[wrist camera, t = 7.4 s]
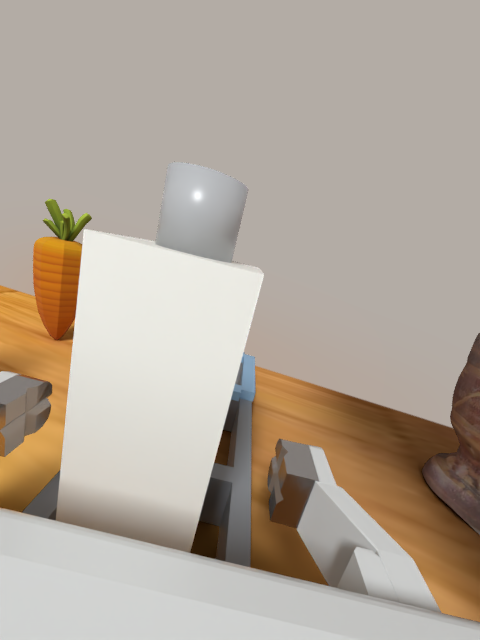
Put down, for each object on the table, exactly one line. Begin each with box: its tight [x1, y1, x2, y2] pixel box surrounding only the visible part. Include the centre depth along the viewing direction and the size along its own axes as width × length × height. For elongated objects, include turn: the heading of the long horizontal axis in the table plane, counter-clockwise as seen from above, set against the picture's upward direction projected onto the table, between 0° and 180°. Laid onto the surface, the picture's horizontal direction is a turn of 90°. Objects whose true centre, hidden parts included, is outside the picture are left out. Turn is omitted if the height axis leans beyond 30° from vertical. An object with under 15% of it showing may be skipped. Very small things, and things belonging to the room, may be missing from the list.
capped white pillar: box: [56, 162, 264, 553], centre depth 9 cm, size 4×4×16 cm
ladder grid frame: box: [22, 352, 255, 567], centre depth 18 cm, size 9×25×4 cm, turn 177°
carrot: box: [33, 199, 92, 340], centre depth 28 cm, size 5×5×15 cm
